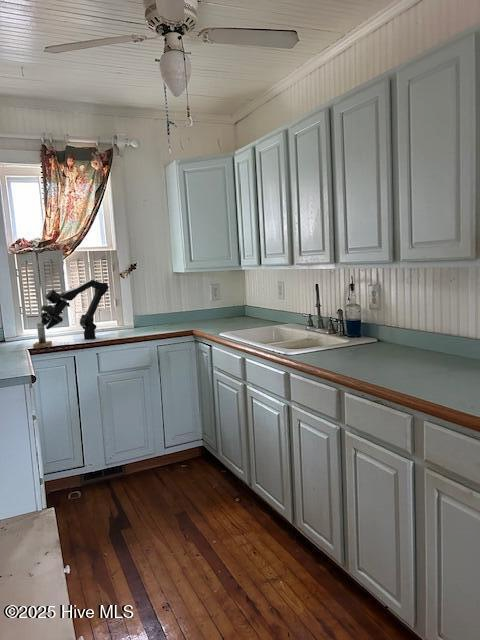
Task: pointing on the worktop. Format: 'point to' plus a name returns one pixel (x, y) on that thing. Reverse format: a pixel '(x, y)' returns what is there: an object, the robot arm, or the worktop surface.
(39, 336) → the column
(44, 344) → the step
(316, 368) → the worktop surface
